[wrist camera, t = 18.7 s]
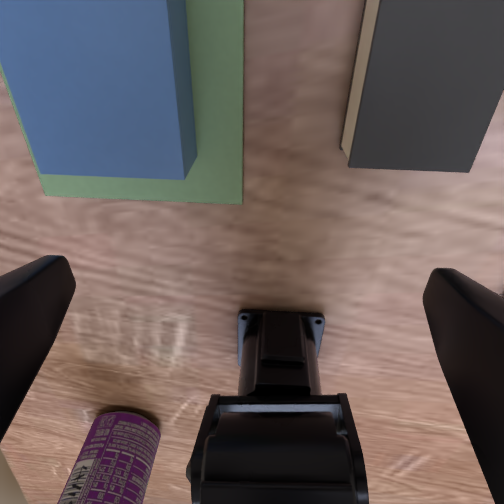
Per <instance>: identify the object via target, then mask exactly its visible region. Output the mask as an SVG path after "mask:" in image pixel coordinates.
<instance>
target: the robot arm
mask: <svg viewBox="0 0 504 504" xmlns="http://www.w3.org/2000/svg"><path fill="white" fill-rule="evenodd" d="M75 288H76V282H75V278H74V276H73V273H72V271H71V268H70V265H69V263H68V260H67V259H66V258H65V257H64V256H60V255H46V256H44V257H41V258H39V259H37V260H35V261H33V262H31V263H28V264H26V265H24V266H22V267H20V268H17V269H15V270H13V271H11V272H9V273H6V274H4V275H2V276H0V443H1V441H2V439H3V437H4V435H5V433H6V431H7V430H8V428H9V426H10V424H11V422H12V420H13V418H14V417H15V415H16V413H17V411H18V409H19V407H20V405H21V403H22V402H23V400H24V398H25V396H26V394H27V392H28V390H29V388H30V387H31V385H32V383H33V381H34V379H35V377H36V375H37V374H38V372H39V370H40V368H41V366H42V364H43V362H44V360H45V359H46V357H47V355H48V353H49V351H50V349H51V347H52V345H53V343H54V341H55V339H56V336H57V334H58V332H59V329H60V327H61V324H62V322H63V319H64V317H65V314H66V312H67V309H68V307H69V304H70V302H71V299H72V297H73V294H74V292H75ZM423 305H424V309H425V313H426V316H427V320H428V324H429V328H430V331H431V335H432V339H433V343H434V346H435V350H436V353H437V357H438V360H439V363H440V365H441V368H442V371H443V373H444V376H445V378H446V381H447V383H448V386H449V388H450V391H451V393H452V396H453V399H454V401H455V404H456V406H457V409H458V411H459V414H460V416H461V419H462V421H463V424H464V426H465V429H466V431H467V434H468V436H469V439H470V441H471V444H472V446H473V449H474V452H475V454H476V457H477V459H478V462H479V464H480V467H481V469H482V472H483V474H484V477H485V479H486V482H487V484H488V487H489V489H490V492H491V494H492V497H493V499H494V502H495V504H504V298H503V297H501V296H499V295H498V294H496V293H494V292H493V291H491V290H489V289H488V288H486V287H484V286H482V285H481V284H479V283H477V282H476V281H474V280H472V279H470V278H469V277H467V276H465V275H464V274H462V273H460V272H459V271H457V270H455V269H452V268H436V269H434V270H433V271H432V273H431V275H430V277H429V280H428V283H427V285H426V288H425V291H424V293H423ZM243 315H245V316H243ZM324 325H325V317H324V315H322V314H320V313H304V312H286V311H268V310H250V309H242V310H240V311H239V313H238V365H239V366H240V377H239V388H238V396H220V394H212V395H211V398H210V401H209V405H208V406H207V407H206V410H205V413H204V416H203V420H202V423H201V426H200V430H199V433H198V436H197V439H196V443H195V446H194V449H193V452H192V456H191V459H190V461H189V463H188V465H187V468H186V477H187V479H188V480H189V482H190V483H191V499H192V504H369V497H368V485H367V477H366V470H365V464H364V458H363V453H362V449H361V445H360V441H359V438H358V434H357V431H356V427H355V423H354V420H353V416H352V412H351V409H350V405H349V401H348V398H347V394H346V393H337V395H322V393H321V385H320V377H319V369H318V361H317V358H318V354H319V349H320V344H321V340H322V335H323V330H324Z"/></svg>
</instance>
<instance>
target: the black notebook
mask: <svg viewBox="0 0 504 504" xmlns="http://www.w3.org/2000/svg"><path fill="white" fill-rule="evenodd" d="M503 90H504V0H365V4H364V9H363V15H362V21H361V27H360V32H359V38H358V44H357V50H356V55H355V61H354V67H353V73H352V78H351V84H350V90H349V96H348V102H347V107H346V113H345V119H344V125H343V130H342V136H341V142H340V150H343V151H344V153H345V155H346V157H347V159H348V160H349V161H348V167H349V168H369V169H393V170H417V171H441V172H465V173H469V172H470V170H471V167H472V165H473V162H474V160H475V157H476V155H477V153H478V150H479V148H480V145H481V143H482V141H483V138H484V136H485V133H486V131H487V129H488V126H489V124H490V121H491V119H492V116H493V114H494V112H495V109H496V107H497V104H498V102H499V100H500V97H501V95H502V92H503Z"/></svg>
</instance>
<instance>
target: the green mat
mask: <svg viewBox="0 0 504 504" xmlns="http://www.w3.org/2000/svg"><path fill="white" fill-rule="evenodd" d="M186 13H187V26H188V40H189V53H190V66H191V80H192V93H193V107H194V120H195V133H196V147H197V158H196V160H195V162H194V163H193V165H192V167H191V169H190V171H189V173H188V175H187V176H186V179H185V180H168V179H145V178H121V177H97V176H73V175H49V174H40V171H39V169H38V166H37V163H36V160H35V157H34V155H33V152H32V149H31V146H30V143H29V141H28V138H27V135H26V132H25V130H24V127H23V124H22V121H21V118H20V116H19V113H18V110H17V107H16V105H15V102H14V99H13V96H12V93H11V91H10V88H9V85H8V82H7V80H6V77H5V74H4V71H3V68H2V66H1V63H0V72H1V74H2V77H3V80H4V83H5V85H6V88H7V91H8V94H9V96H10V99H11V102H12V105H13V107H14V110H15V113H16V116H17V119H18V121H19V124H20V127H21V130H22V132H23V135H24V138H25V141H26V143H27V146H28V149H29V152H30V154H31V157H32V160H33V163H34V165H35V168H36V171H37V174H38V176H39V179H40V182H41V185H42V187H43V190H44V193H45V195H46V196H64V197H86V198H108V199H130V200H151V201H173V202H195V203H217V204H239V205H242V202H243V65H244V0H186Z"/></svg>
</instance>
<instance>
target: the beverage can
mask: <svg viewBox="0 0 504 504" xmlns="http://www.w3.org/2000/svg"><path fill="white" fill-rule="evenodd" d="M160 437H161V434H160V431H159V429H158V428H157V426H156V425H154V424H153V423H152V422H150V421H149V420H148V419H147V418H146V417H144V416H142V415H140V414H137V413H133V412H128V411H117V412H111V413H105V414H102V415H100V416H98V417H97V418H96V419H95V420H94V422H93V424H92V426H91V429H90V431H89V433H88V435H87V438H86V440H85V442H84V445H83V447H82V449H81V451H80V454H79V456H78V458H77V460H76V463H75V465H74V467H73V469H72V472H71V474H70V476H69V478H68V481H67V483H66V485H65V488H64V490H63V492H62V494H61V497H60V499H59V501H58V503H57V504H142V503H143V499H144V496H145V492H146V488H147V485H148V481H149V477H150V474H151V470H152V466H153V463H154V459H155V455H156V452H157V448H158V444H159V440H160Z"/></svg>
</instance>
